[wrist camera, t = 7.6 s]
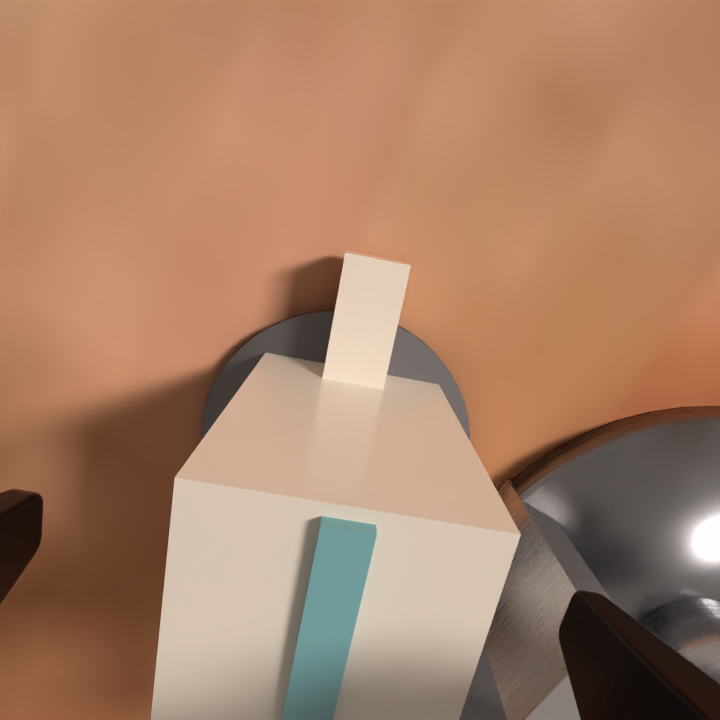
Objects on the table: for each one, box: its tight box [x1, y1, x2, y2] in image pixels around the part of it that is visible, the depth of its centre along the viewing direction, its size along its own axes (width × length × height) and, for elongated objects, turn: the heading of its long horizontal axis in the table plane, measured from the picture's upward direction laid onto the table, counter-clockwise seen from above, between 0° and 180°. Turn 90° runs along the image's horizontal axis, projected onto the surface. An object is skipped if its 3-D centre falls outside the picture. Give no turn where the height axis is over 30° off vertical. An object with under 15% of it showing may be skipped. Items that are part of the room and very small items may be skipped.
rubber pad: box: [202, 311, 470, 439], centre depth 12 cm, size 7×7×1 cm
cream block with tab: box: [151, 250, 521, 720], centre depth 9 cm, size 10×4×6 cm, turn 169°
